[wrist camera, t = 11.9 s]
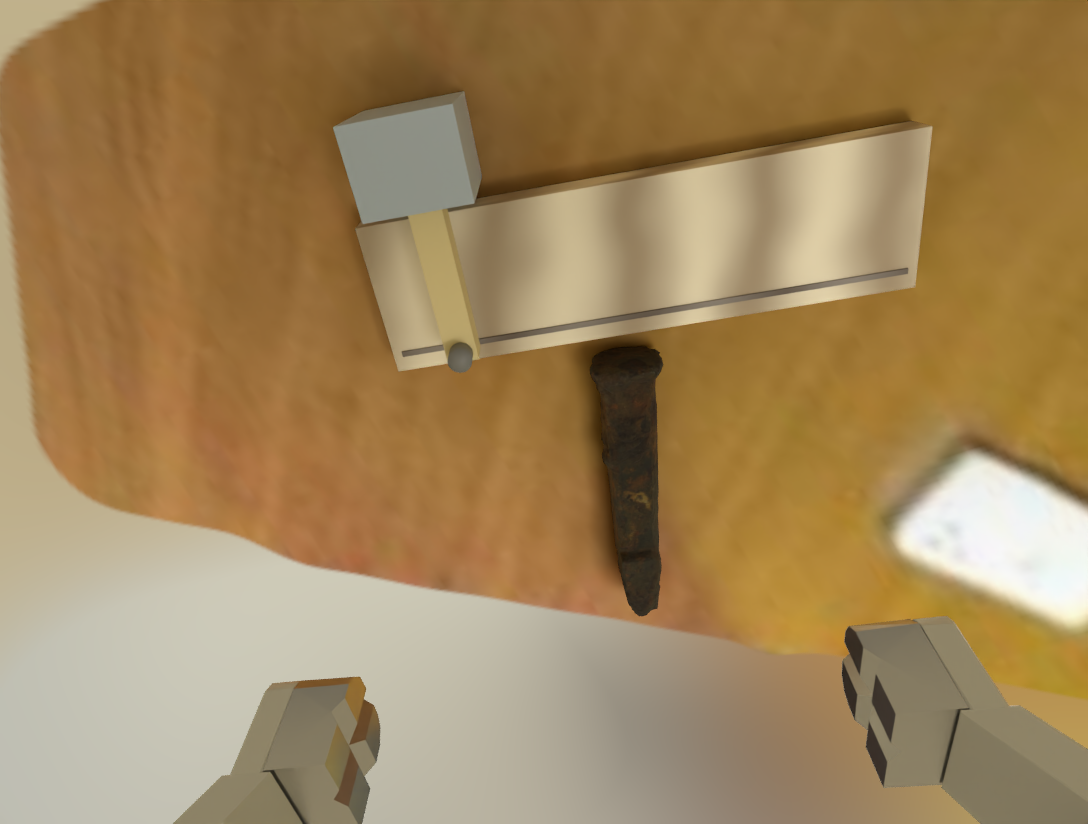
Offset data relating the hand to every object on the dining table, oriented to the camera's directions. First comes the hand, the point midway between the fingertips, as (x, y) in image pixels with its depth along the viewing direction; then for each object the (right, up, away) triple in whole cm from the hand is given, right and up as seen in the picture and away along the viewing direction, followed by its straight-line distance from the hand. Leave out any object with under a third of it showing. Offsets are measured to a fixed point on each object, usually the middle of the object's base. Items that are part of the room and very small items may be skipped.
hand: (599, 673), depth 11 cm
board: (+4, +13, +25) cm, 29 cm away
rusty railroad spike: (+5, +1, +33) cm, 33 cm away
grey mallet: (-6, +14, +24) cm, 29 cm away
